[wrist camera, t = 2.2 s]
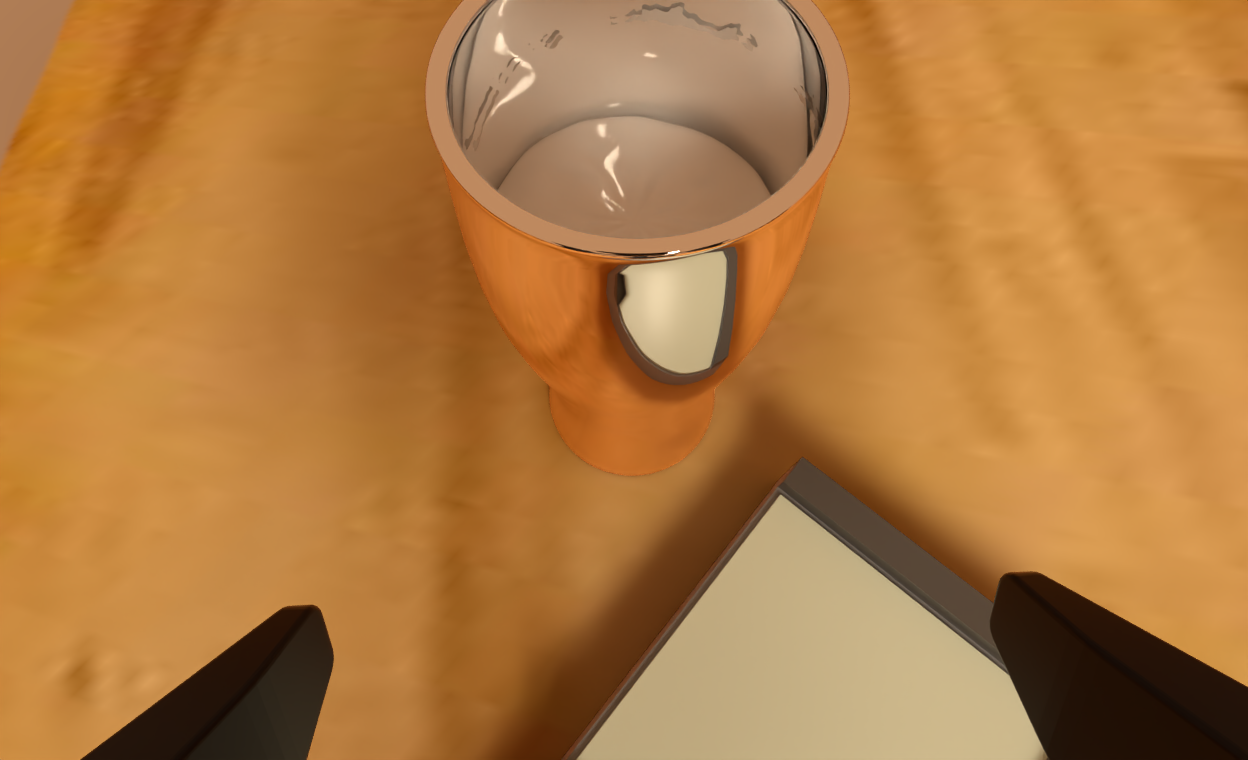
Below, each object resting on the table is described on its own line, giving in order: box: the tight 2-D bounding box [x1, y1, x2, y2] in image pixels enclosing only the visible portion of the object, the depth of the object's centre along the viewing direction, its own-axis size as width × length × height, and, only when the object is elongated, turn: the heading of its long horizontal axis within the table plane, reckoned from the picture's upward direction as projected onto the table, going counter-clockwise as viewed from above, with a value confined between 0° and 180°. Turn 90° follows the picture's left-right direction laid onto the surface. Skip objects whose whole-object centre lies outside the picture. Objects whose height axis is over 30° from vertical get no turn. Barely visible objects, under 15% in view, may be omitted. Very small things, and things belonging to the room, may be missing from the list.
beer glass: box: [425, 0, 850, 476], centre depth 17 cm, size 7×7×15 cm
